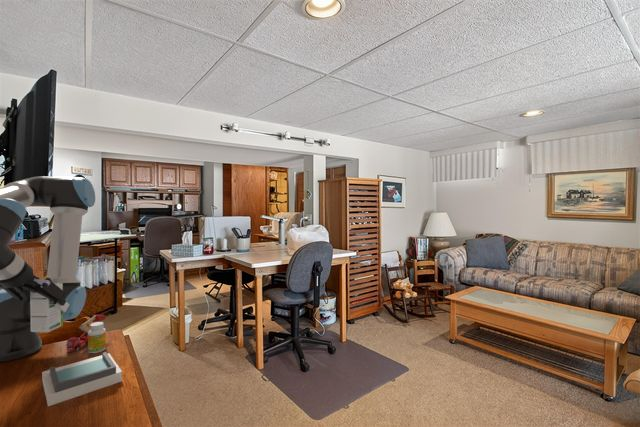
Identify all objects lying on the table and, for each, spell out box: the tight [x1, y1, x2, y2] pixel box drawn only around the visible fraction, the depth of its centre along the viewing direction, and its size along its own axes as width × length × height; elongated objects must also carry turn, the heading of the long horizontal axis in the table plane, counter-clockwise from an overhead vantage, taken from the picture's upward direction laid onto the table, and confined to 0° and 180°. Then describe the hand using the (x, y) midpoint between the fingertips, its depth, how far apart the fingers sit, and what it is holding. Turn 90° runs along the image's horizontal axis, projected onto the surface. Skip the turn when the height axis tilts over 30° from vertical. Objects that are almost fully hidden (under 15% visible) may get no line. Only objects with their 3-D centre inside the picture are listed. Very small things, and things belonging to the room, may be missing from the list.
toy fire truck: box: [66, 313, 106, 353], centre depth 119 cm, size 3×14×10 cm, turn 168°
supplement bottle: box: [87, 321, 107, 354], centre depth 115 cm, size 5×5×10 cm
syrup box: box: [30, 282, 64, 333], centre depth 101 cm, size 6×6×14 cm
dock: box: [41, 351, 123, 407], centre depth 95 cm, size 16×17×5 cm
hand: (55, 308), depth 105 cm, fingers closed on syrup box, 6 cm apart
